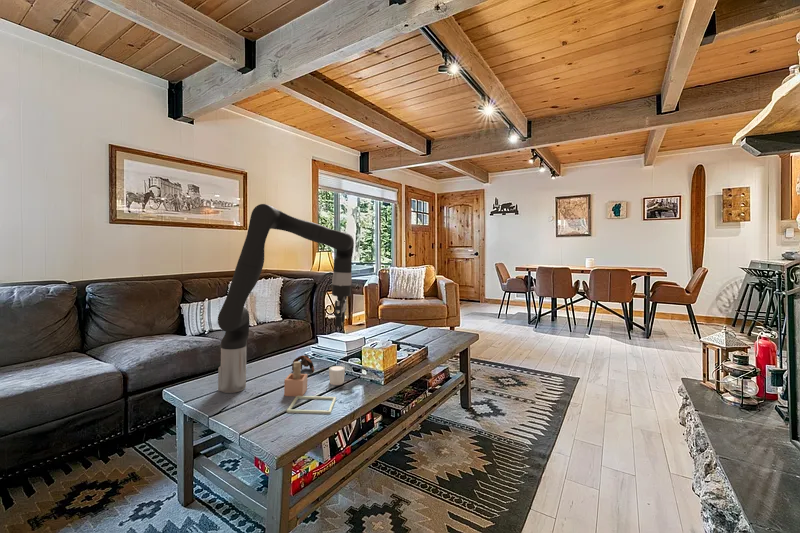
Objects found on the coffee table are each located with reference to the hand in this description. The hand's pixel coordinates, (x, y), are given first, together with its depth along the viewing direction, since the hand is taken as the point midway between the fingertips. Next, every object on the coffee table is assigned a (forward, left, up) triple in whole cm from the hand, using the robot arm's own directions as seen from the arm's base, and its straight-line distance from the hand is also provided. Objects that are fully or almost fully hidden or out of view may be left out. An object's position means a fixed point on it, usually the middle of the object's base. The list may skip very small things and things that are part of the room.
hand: (339, 324), depth 139 cm
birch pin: (-16, -4, -27) cm, 31 cm away
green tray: (-7, -14, -28) cm, 32 cm away
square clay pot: (-16, -3, -28) cm, 32 cm away
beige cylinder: (-2, +8, -28) cm, 29 cm away
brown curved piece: (-20, +23, -28) cm, 41 cm away
